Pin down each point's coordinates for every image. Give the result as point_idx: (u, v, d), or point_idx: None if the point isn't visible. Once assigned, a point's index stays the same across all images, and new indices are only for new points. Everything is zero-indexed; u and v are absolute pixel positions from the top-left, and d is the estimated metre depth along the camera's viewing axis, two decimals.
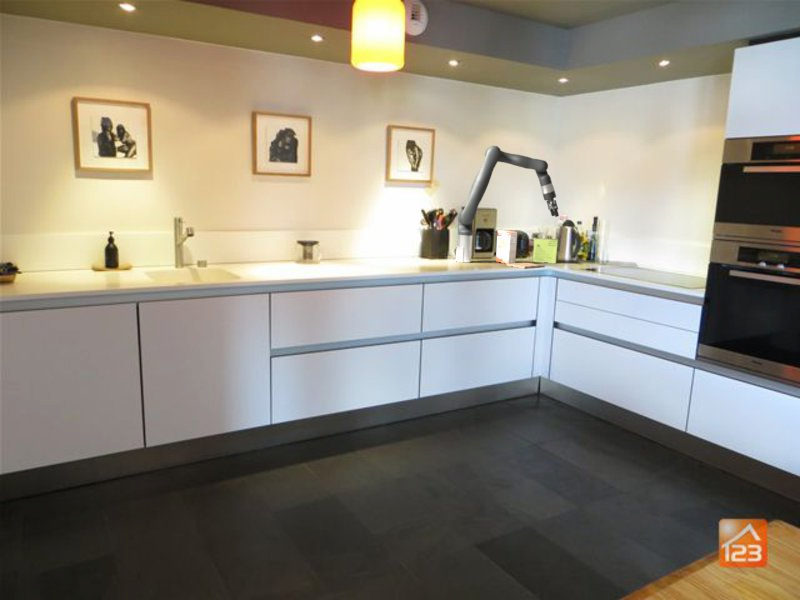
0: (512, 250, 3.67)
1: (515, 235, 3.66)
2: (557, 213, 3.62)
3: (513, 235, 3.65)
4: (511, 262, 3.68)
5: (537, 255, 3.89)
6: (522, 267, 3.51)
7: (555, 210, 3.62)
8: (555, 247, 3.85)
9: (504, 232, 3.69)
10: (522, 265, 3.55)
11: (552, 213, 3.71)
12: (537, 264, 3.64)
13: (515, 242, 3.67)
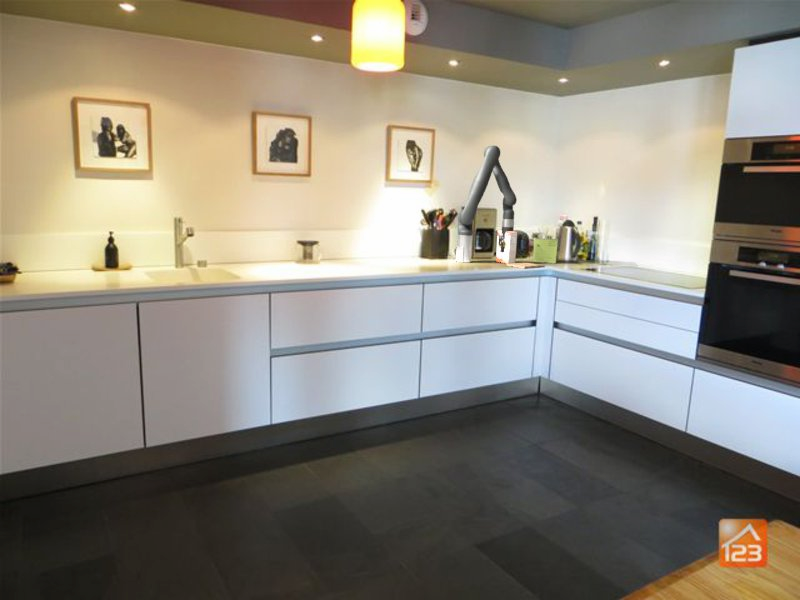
0: (512, 250, 3.67)
1: (515, 235, 3.66)
2: (501, 249, 3.70)
3: (513, 235, 3.65)
4: (511, 262, 3.69)
5: (537, 255, 3.89)
6: (522, 267, 3.51)
7: (500, 245, 3.70)
8: (555, 247, 3.85)
9: None
10: (522, 265, 3.55)
11: None
12: (537, 264, 3.64)
13: (515, 242, 3.67)
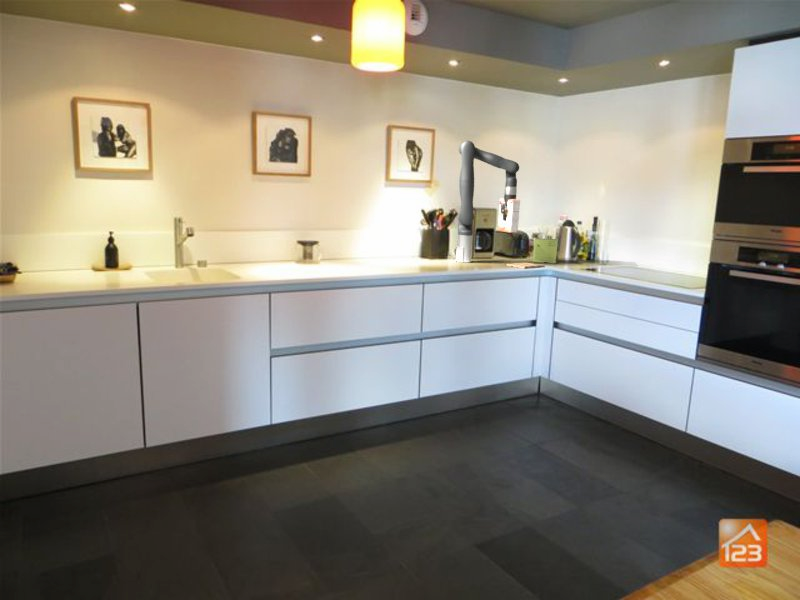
0: (515, 218, 3.64)
1: (518, 203, 3.62)
2: (504, 217, 3.66)
3: (516, 203, 3.62)
4: (513, 230, 3.65)
5: (537, 255, 3.89)
6: (522, 267, 3.51)
7: (503, 213, 3.66)
8: (555, 247, 3.85)
9: None
10: (522, 265, 3.55)
11: None
12: (537, 264, 3.64)
13: (518, 210, 3.63)
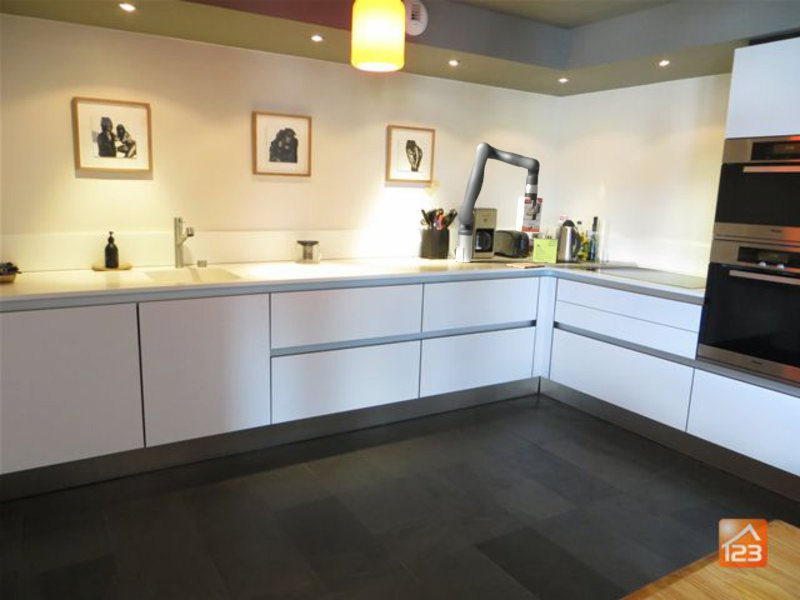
0: None
1: None
2: (535, 217, 3.53)
3: None
4: None
5: (537, 255, 3.89)
6: (522, 267, 3.51)
7: (535, 213, 3.52)
8: (555, 247, 3.85)
9: None
10: (522, 265, 3.55)
11: None
12: (537, 264, 3.64)
13: None
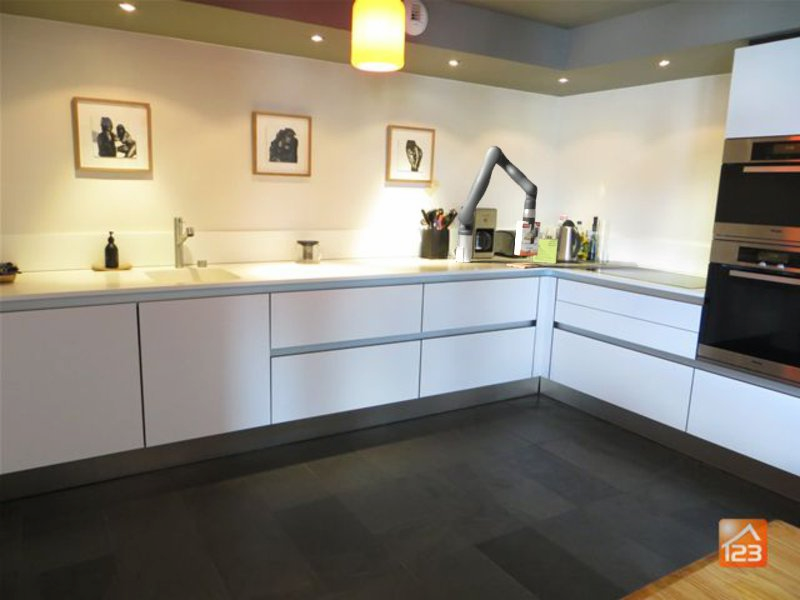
0: None
1: None
2: (533, 241, 3.55)
3: None
4: None
5: (537, 255, 3.89)
6: (522, 267, 3.51)
7: (534, 237, 3.54)
8: (555, 247, 3.85)
9: None
10: (522, 265, 3.55)
11: None
12: (537, 264, 3.64)
13: None
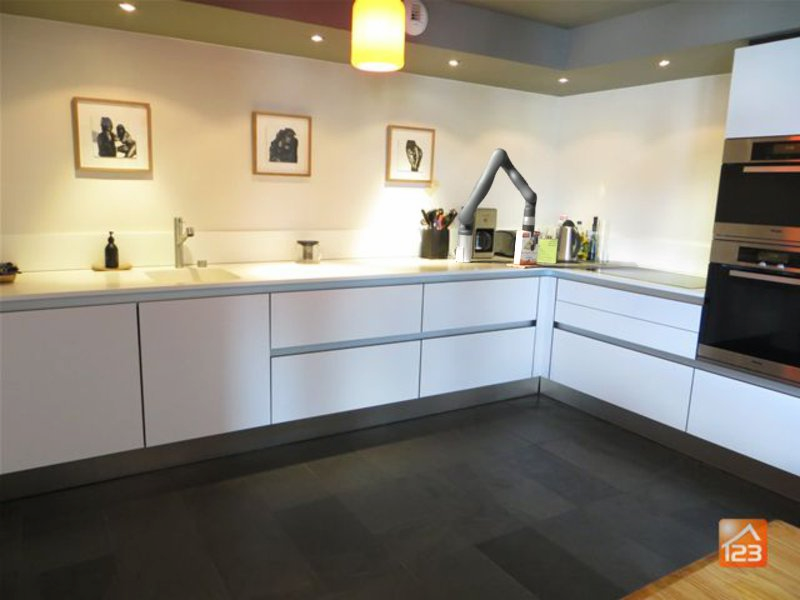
0: None
1: None
2: (534, 248, 3.56)
3: None
4: None
5: None
6: (522, 267, 3.51)
7: (534, 244, 3.55)
8: (555, 247, 3.85)
9: None
10: (522, 265, 3.55)
11: None
12: (537, 264, 3.64)
13: None
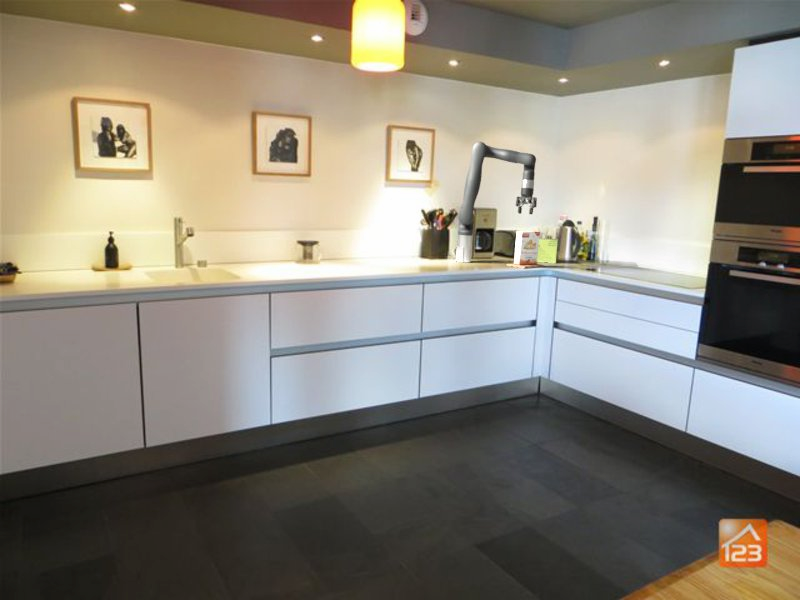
0: None
1: None
2: (532, 211, 3.56)
3: None
4: None
5: None
6: (522, 267, 3.51)
7: (532, 207, 3.55)
8: (555, 247, 3.85)
9: (532, 232, 3.56)
10: (522, 265, 3.55)
11: (520, 210, 3.63)
12: (537, 264, 3.64)
13: None
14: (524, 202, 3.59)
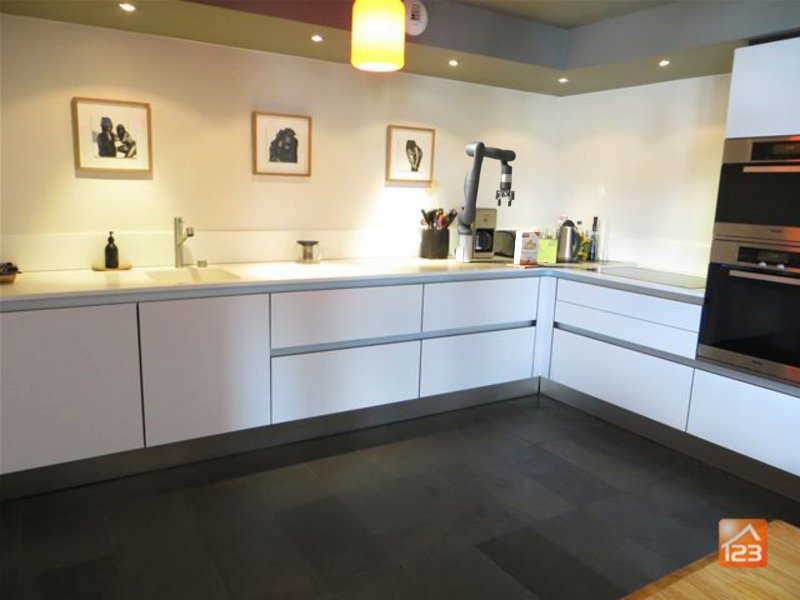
0: None
1: None
2: None
3: None
4: None
5: None
6: (522, 267, 3.51)
7: (511, 200, 3.81)
8: (555, 247, 3.85)
9: (532, 232, 3.56)
10: (522, 265, 3.55)
11: (499, 203, 3.89)
12: (537, 264, 3.64)
13: None
14: (503, 195, 3.85)
